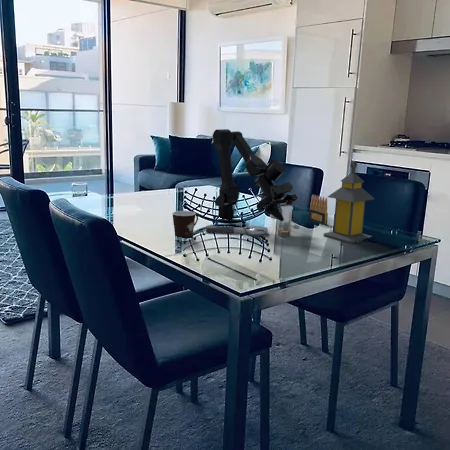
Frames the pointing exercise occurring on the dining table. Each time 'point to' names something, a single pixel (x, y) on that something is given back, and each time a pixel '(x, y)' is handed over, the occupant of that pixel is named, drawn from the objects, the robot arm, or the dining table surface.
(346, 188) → the lantern
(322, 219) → the ammunition clip
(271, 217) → the adjustable wrench
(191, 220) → the coffee mug
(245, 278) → the dining table surface
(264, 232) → the ratchet
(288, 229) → the socket
